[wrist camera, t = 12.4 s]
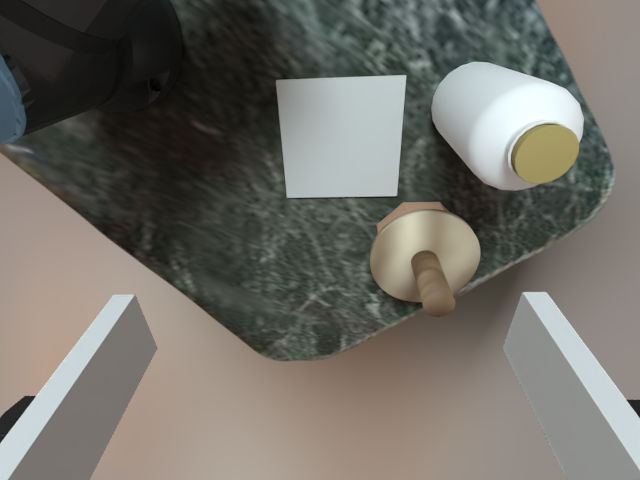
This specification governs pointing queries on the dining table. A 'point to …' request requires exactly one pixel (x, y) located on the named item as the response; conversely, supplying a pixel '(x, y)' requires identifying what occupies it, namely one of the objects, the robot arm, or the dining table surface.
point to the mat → (341, 135)
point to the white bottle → (508, 124)
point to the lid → (425, 258)
